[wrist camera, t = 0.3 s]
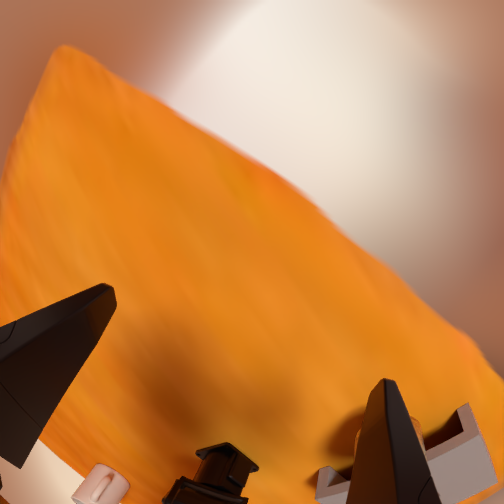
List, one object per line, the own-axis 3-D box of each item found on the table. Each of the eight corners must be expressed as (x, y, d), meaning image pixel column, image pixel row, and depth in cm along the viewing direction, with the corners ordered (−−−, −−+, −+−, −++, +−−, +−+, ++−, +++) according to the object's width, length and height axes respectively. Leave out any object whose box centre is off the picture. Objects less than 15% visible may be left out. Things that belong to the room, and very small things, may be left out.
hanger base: (371, 508, 33) (369, 533, 29) (319, 468, 32) (314, 499, 27) (490, 457, 26) (498, 482, 21) (468, 402, 25) (479, 434, 20)
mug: (127, 491, 49) (105, 524, 39) (95, 470, 50) (71, 501, 40) (135, 476, 45) (109, 515, 34) (98, 452, 45) (69, 488, 35)
